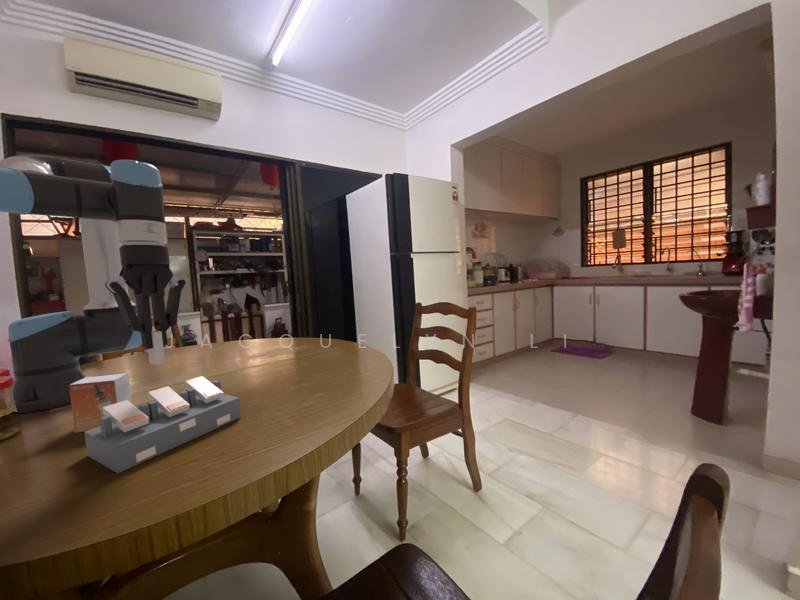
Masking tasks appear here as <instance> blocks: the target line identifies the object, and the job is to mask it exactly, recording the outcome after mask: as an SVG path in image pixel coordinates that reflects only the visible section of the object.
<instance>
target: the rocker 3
mask: <svg viewBox="0 0 800 600" xmlns="http://www.w3.org/2000/svg"><path fill="white" fill-rule="evenodd" d="M184 386H185V387H186V388H187V390H188V389H195V394H196V395H197V396H198V397H199V398H200V399H202V400H203V401H204V402H205V403H208V402H211V401H214V400H216V399H219V398H222V397H223V394H224V392H223V390H222V389H221V390H220V389H218V388H217V387H216V386H215V385H213V384H212V382H211V381H209V380H208V379H207V378H206V377H204V376H203V375H201V376H198V377H194V378H191V379H188V380H185V382H184Z"/></svg>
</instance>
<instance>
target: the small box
mask: <svg viewBox="0 0 800 600" xmlns="http://www.w3.org/2000/svg"><path fill="white" fill-rule="evenodd" d="M85 377H86V378H83V379H81V380H79V381H77V382H75V383H72V384H70V396H71V403H70V404H71V413H72V424H73V431H74V434H78V433H84V432H85V431H88V430H91V429H94V428H97V427H100V426H101V425H100V418H101V417H104V416H105V415H104V414H103V407H106V406H109V405H112V404H115V403H119V402H122V401H125V400H128V401H129V402H130V403H132V395H131V387H130V386H131V384H130V378H129V377H130V376H129V373H127V372H126V373H125V372H124V373H118V374H109V375H99V376H97V375H95V376H85Z"/></svg>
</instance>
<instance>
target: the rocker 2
mask: <svg viewBox="0 0 800 600" xmlns="http://www.w3.org/2000/svg"><path fill="white" fill-rule="evenodd" d="M147 398H148V399H149V401H156V402H157V405H158V407H159V408H160V409H161V410H162V411H163V412H164V413H165V414H166V415H167V416H168V417H171V416H174V415H176V414H179V413H182V412H184V411H187V410H189V407H190V404H188V403H187V402H186V401H185V400H184V399H183V398H181V397H180V396H179V393H177V392H176V391H175V390H173V389H172V388H171V387H170V386H169V385H167V386H164V387H160V388H157V389H154V390H150V391H148V392H147Z"/></svg>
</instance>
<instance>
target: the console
mask: <svg viewBox="0 0 800 600" xmlns="http://www.w3.org/2000/svg"><path fill="white" fill-rule="evenodd" d="M211 383H212V384H213V385H215V386H216V387H217V388H218V389H220V390H221V391H222V382H221V380H212V382H211ZM178 395H179V396H180V397H181V398H183V399H184V400H185V401H186V402H187V403H188V404H190V407H189V410H187V411H184V412H182V413H179V414H176V415H174V416H171V417H168V416H167V415H166V414H165V413H164V412H163V411H162V410H161V409H160V408H159V407H158V405H157V402H156V401H151V400H149V401H147V402H146V403H145V402H144V403H141V404H139V405H137V406H138V407H137V408H138V409H139V410H140V411H141V412H143V413H144V414H145V415H146V416H148V417H149V423H148V424H145V425H143V426H140V427H137V428H135V429H132V430H129V431H127V432H123V431H122V430H121V429H120V428H119V427H118V426H116V425H115V424H114V423H113V422H112V420H111V417H110V416H104V417H101V418H100V425H101V426H100V427H97V428H94V429H91V430H88V431H84V432H83V433H84V440H85V447H86V456H87V457H89V458H90V459H92V460H94V461H96V462H97V463H99V464H100V465H102V466H105V467H106V468H107V469H109V470H111V471H113V472H114V473H116V474H119V473H122V472H124V471H127V470H129V469H131V468H133V467H135V466H137V465H140V464H142V463H144V462H146V461H148V460H151V459H153V458H155V457H157V456H159V455H162V454H164V453H166V452H167V451H168V452H169V451H170V450H172V449H175V448H176V447H179V446H181V445H184V444H185V443H187V442H191V441H192V440H195V439H197V438H198V437H201V436H203V435H205V434H208V433H209V432H211V431H214V430H216V429H218V428H221V427H222V426H225V425H228V424H230V423H231V422H234V421H237V420H238V419H239V418H242V416H241V415H242V412H241V403H240V402H241V401H240V397H238V396H233V395H229V394H225V393H223V397H222V398H219V399H216V400H214V401H211V402H208V403H205V402H204V401H203V400H202V399H200V398H199V397H198V396H197V395H196V394H195V389H188V388H187V389H185V390H182V391H179V392H178Z"/></svg>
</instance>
